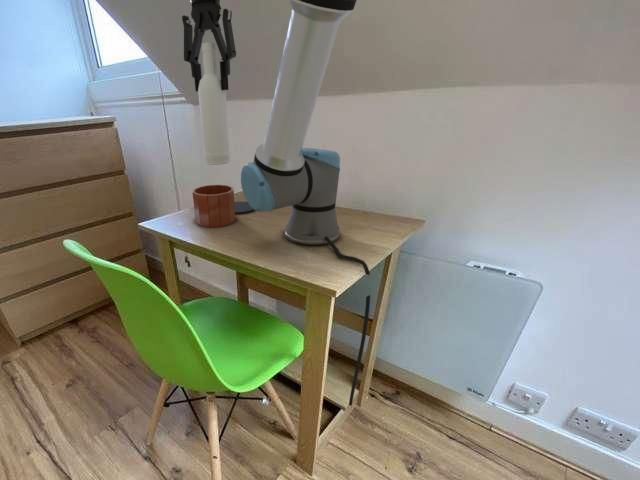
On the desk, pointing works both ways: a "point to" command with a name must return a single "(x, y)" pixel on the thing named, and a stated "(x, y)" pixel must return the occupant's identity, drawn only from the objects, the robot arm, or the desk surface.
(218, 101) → the bottle
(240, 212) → the coaster
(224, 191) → the reddish brown pot
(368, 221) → the desk surface
